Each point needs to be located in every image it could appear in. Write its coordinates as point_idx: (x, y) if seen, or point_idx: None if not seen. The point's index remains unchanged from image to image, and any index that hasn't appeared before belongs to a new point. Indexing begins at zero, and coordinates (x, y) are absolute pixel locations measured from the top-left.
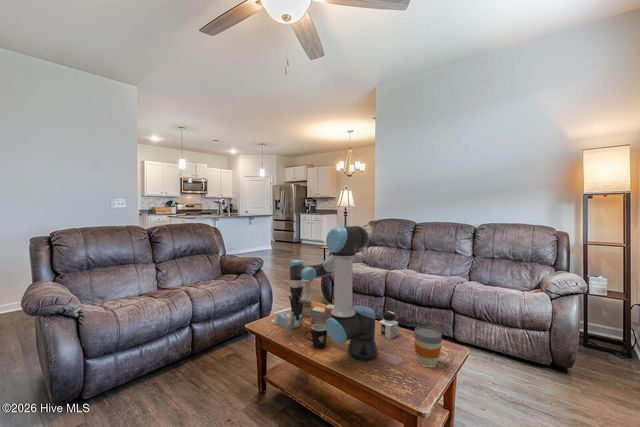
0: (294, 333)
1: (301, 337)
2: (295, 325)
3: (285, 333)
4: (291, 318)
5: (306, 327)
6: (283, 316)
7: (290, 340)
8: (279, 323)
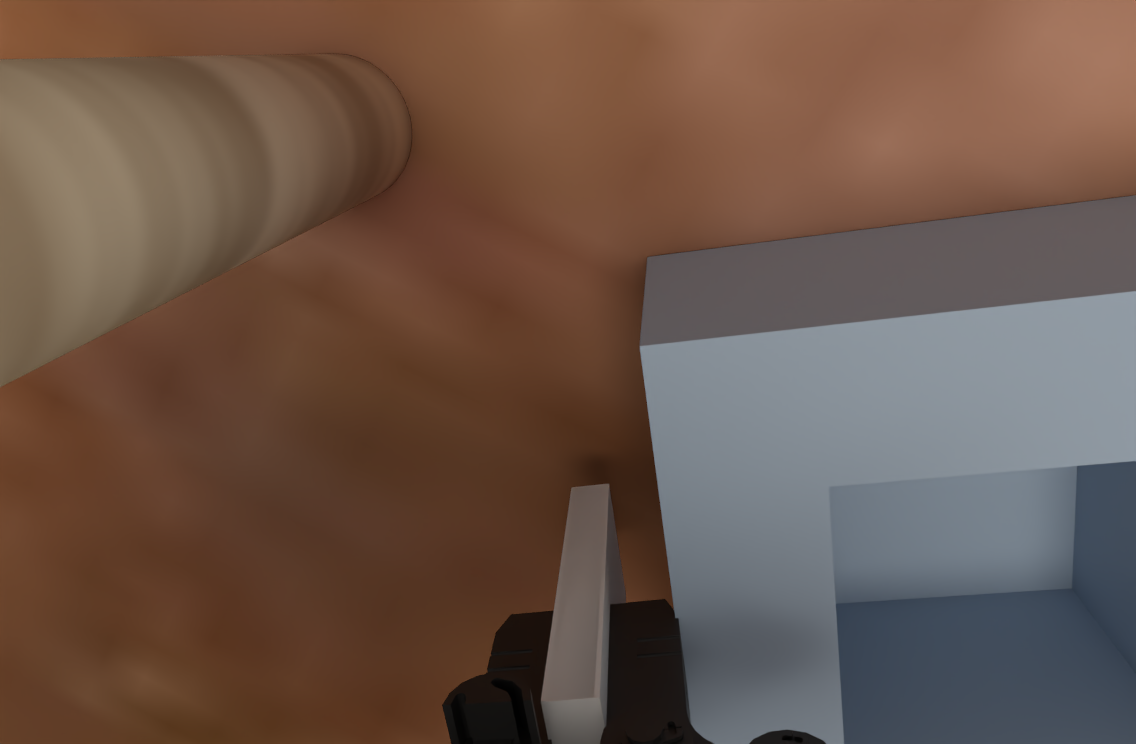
0: (401, 337)
1: (151, 381)
2: (569, 503)
3: (315, 54)
4: (713, 539)
5: None
6: (1079, 374)
7: None
8: (1112, 210)
